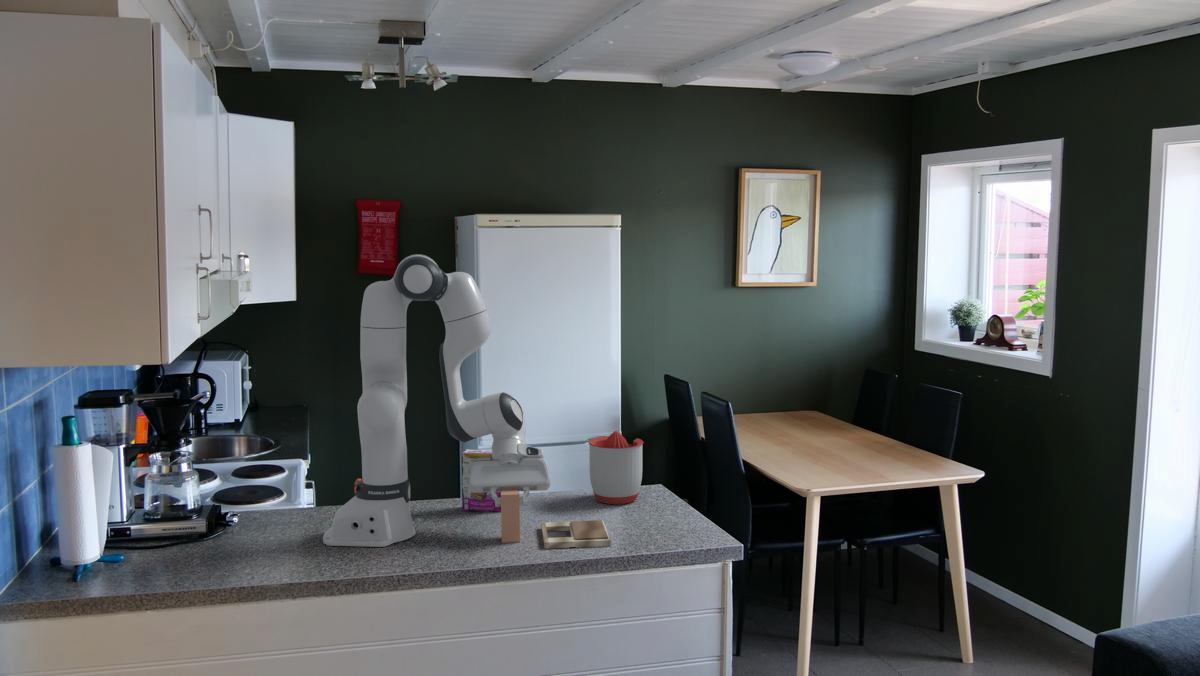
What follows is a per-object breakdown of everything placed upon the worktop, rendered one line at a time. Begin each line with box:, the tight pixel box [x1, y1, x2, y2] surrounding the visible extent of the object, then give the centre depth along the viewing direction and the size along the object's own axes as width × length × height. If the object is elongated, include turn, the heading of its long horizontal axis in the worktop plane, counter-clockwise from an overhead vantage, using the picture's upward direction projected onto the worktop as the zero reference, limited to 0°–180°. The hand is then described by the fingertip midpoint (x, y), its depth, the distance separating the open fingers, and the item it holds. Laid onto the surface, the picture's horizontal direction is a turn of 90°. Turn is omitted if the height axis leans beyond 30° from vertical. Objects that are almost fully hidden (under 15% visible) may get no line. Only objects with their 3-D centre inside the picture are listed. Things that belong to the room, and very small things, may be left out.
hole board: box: [541, 519, 612, 550], centre depth 233 cm, size 16×16×2 cm
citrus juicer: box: [588, 430, 644, 505], centre depth 266 cm, size 16×17×20 cm
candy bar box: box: [461, 448, 501, 513], centre depth 256 cm, size 11×5×16 cm, turn 84°
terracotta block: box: [500, 490, 521, 544], centre depth 230 cm, size 4×4×12 cm
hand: (510, 505), depth 229 cm, fingers closed on terracotta block, 4 cm apart
